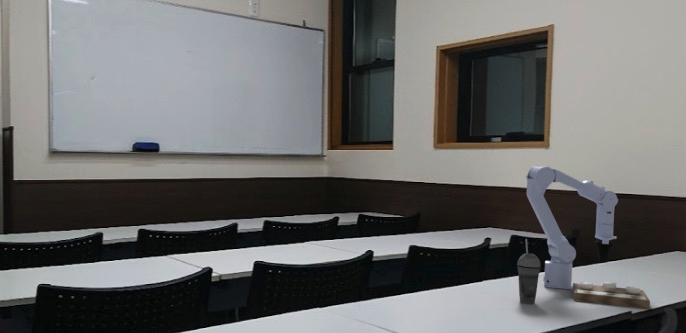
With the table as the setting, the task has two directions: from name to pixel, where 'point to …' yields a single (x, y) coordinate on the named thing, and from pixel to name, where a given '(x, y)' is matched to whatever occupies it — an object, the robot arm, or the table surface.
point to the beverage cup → (528, 276)
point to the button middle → (609, 285)
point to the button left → (586, 285)
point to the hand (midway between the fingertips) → (603, 261)
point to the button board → (610, 296)
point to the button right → (632, 290)
